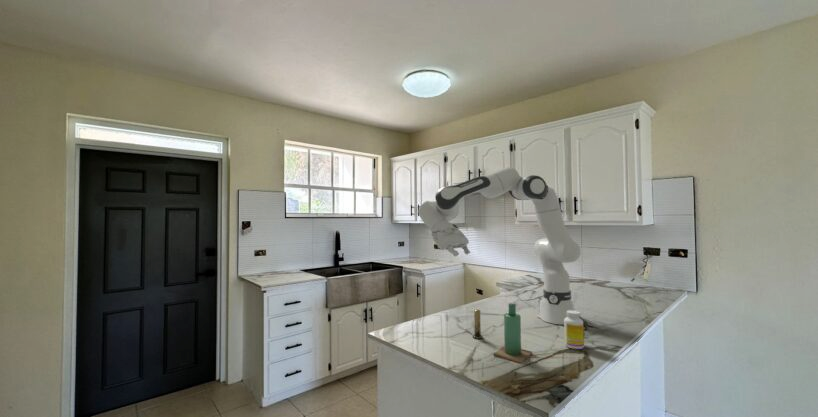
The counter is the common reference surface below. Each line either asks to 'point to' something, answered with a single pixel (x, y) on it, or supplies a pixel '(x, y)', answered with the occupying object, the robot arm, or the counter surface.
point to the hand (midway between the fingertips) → (462, 254)
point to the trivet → (518, 358)
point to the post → (477, 325)
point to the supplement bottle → (573, 330)
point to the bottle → (512, 331)
